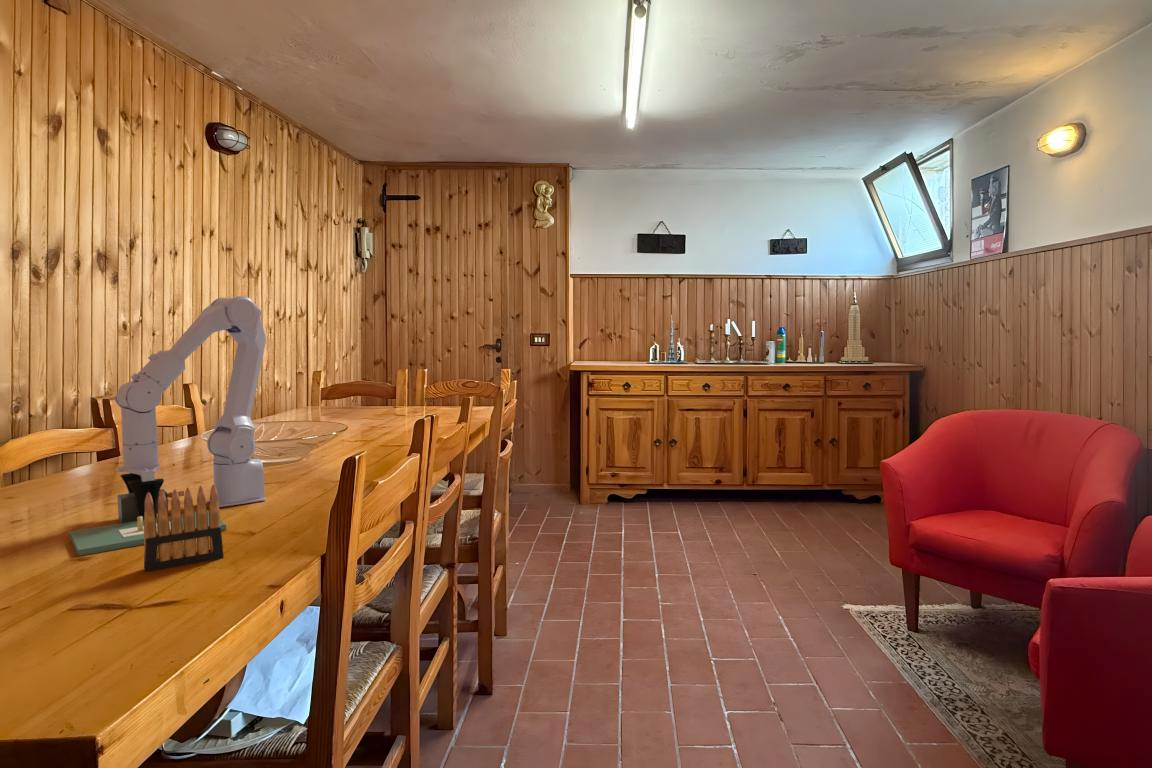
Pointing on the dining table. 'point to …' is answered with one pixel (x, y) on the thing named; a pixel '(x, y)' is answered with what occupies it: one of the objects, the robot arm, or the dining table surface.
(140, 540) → the board
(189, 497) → the ammunition clip
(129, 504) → the block
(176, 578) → the dining table surface
